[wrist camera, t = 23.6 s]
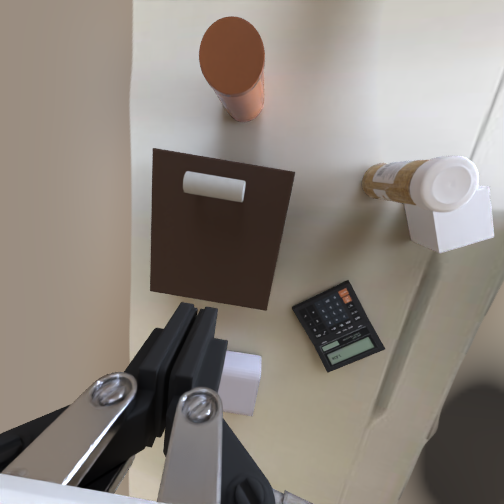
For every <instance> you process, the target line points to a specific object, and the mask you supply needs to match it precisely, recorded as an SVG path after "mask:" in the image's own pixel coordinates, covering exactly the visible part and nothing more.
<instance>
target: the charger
mask: <svg viewBox="0 0 504 504" xmlns="http://www.w3.org/2000/svg"><path fill="white" fill-rule="evenodd" d="M260 376H261V356H258V355H252V354H246V353H240V352H233V351H227V350H226V356H225V362H224V367H223V372H222V376H221V381H220V386H219V390H218V395H219V396H220V398H221V400H222V405H223V412H229V413H235V414H241V415H247V416H253V412H254V407H255V402H256V397H257V392H258V387H259V382H260Z"/></svg>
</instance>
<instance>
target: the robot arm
mask: <svg viewBox="0 0 504 504" xmlns="http://www.w3.org/2000/svg"><path fill="white" fill-rule="evenodd" d="M197 311H198V309H197V308H194V304H190V303H184V302H181V303H180V305H179V306H178V308H177V309H176V311H175V313H174V314H173V316H172V317H171V319H170V320H169V322H168V323H167V325H166V327H165V328H164V329H161V328H155V329H154V330H153V332H152V333H151V334H150V336H149V337H148V339H147V340H146V341H145V343H144V344H143V346H142V347H141V349H140V350H139V351H138V353H137V354H136V356H135V357H134V359H133V360H132V361H131V363H130V364H129V366H128V367H127V368H126V370H125V371H124V372H115V373H111V374H107V375H105V376H103V377H101V378H99V379H98V380H96V381H95V382H94V383H93V384H92V385H91V386H90V387H89V388H88V389H86V390H85V392H83V393H82V394H81V395H80V396H79V397H78V398H77V399H76V400H75V401H74V402H73V403H72V404H71V405H68V406H66V407H64V408H61V409H59V410H56V411H54V412H52V413H49V414H47V415H44V416H42V417H40V418H37V419H35V420H32V421H30V422H27V423H25V424H23V425H20V426H18V427H16V428H13V429H11V430H8V431H6V432H3V433H2V434H0V504H313V503H311V502H309V501H306V500H304V499H302V498H300V497H298V496H296V495H294V494H292V493H290V492H288V491H286V490H285V492H284V494H283V493H281V492H279V491H277V490H275V489H273V488H272V487H271V485H270V483H269V481H268V480H267V478H266V477H265V475H264V474H263V473H262V471H261V470H260V468H259V467H258V466H257V464H256V463H255V462H254V460H253V459H252V457H251V456H250V455H249V453H248V452H247V451H246V449H245V448H244V446H243V445H242V444H241V442H240V441H239V439H238V438H237V437H236V435H235V434H234V433H233V431H232V430H231V428H230V427H229V426H228V424H227V423H226V422H225V420H224V419H223V405H222V400H221V398H220V396H219V395H218V390H219V386H220V381H221V376H222V372H223V367H224V362H225V356H226V350H227V344H228V341H227V340H222V339H216V338H214V333H215V326H216V319H217V312H218V309H217V308H212V307H205V309H200V311H199V313H198V315H197ZM164 429H165V438H164V450H163V452H164V455H165V457H166V460H165V465H164V470H163V474H162V479H161V484H160V489H159V493H158V498H157V502H156V501H150V500H145V499H140V498H134V497H129V496H123V495H118V494H114V493H115V491H116V490H117V488H118V486H119V485H120V483H121V481H122V480H123V478H124V476H125V475H126V473H127V471H128V470H129V468H130V466H131V465H132V463H133V460H134V458H135V454H137V453H138V452H140V451H142V450H143V449H145V447H146V446H147V447H152V445H153V443H154V441H155V438H156V437H161V436H162V434H163V432H164Z"/></svg>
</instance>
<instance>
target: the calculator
mask: <svg viewBox="0 0 504 504" xmlns="http://www.w3.org/2000/svg"><path fill="white" fill-rule="evenodd" d="M292 309H293V311H294V313H295V314H296V316H297V318H298V319H299V321H300V323H301V324H302V326H303V328H304V329H305V331H306V333H307V334H308V336H309V338H310V339H311V341H312V343H313V344H314V346H315V348H316V350H317V352H318V354H319V356H320V358H321V360H322V363H323V365H324V367H325V369H326V371H327V373H328V372H330V371H333V370H335V369H338V368H340V367H343V366H345V365H348V364H350V363H352V362H355V361H357V360H360V359H362V358H365V357H367V356H370V355H372V354H375V353H377V352H380V351H382V350H384V349H385V347H384V346H383V344H382V342H381V340H380V339H379V337H378V335H377V333H376V332H375V330H374V328H373V326H372V325H371V323H370V321H369V319H368V317H367V315H366V313H365V311H364V309H363V307H362V305H361V303H360V302H359V300H358V298H357V296H356V294H355V292H354V290H353V288H352V286H351V284H350V282H349V281H345V282H343V283H341V284H339V285H337V286H335V287H333V288H331V289H329V290H327V291H324V292H322V293H320V294H318V295H316V296H314V297H312V298H310V299H308V300H306V301H303V302H301V303H299V304H297V305H295V306H293V307H292Z"/></svg>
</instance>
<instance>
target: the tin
mask: <svg viewBox="0 0 504 504" xmlns="http://www.w3.org/2000/svg"><path fill="white" fill-rule="evenodd" d="M199 61H200V67H201V70H202V73H203V75H204V77H205V79H206V80H207V82H208V83H209V85H210V86H211V87H212V88H213V89H214V91H215V93H216V94H217V96H218V98H219V99H220V101H221V103H222V104H223V106H224V108H225V109H226V111H227V112H228V114H229V115H230V116H231V117H232V118H233V119H235V120H237V121H240V122H248V121H251V120H253V119H254V118H256V117H257V116H258V115H259V113H260V112H261V110H262V108H263V104H264V63H265V52H264V46H263V42H262V39H261V37H260V35H259V33H258V32H257V30H256V29H255V28H254V26H253V25H252V24H250V23H249V22H248V21H246V20H244V19H242V18H239V17H232V16H231V17H225V18H222V19H219V20H217V21H216V22H214V23H213V24H212V25H211V26H210V27H209V28H208V29H207V31H206V32H205V34H204V36H203V38H202V41H201V45H200V50H199Z"/></svg>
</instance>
